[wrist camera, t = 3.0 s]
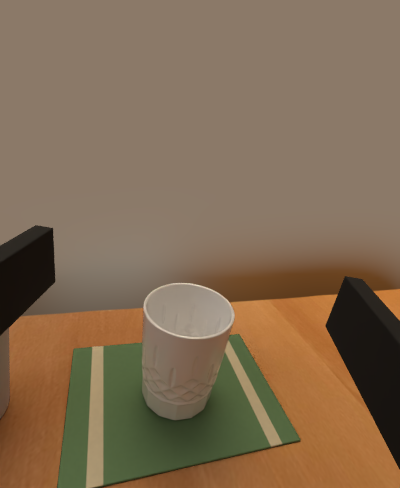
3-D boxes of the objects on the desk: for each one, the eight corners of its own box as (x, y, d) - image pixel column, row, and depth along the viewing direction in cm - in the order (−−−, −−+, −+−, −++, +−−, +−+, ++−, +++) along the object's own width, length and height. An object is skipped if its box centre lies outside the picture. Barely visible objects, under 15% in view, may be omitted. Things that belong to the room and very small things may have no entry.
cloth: (238, 336, 39) (239, 333, 39) (299, 442, 27) (300, 439, 27) (73, 351, 33) (73, 348, 32) (56, 499, 20) (56, 495, 20)
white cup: (183, 349, 35) (195, 275, 31) (231, 399, 29) (253, 317, 26) (121, 379, 30) (126, 296, 26) (166, 446, 24) (181, 353, 21)
